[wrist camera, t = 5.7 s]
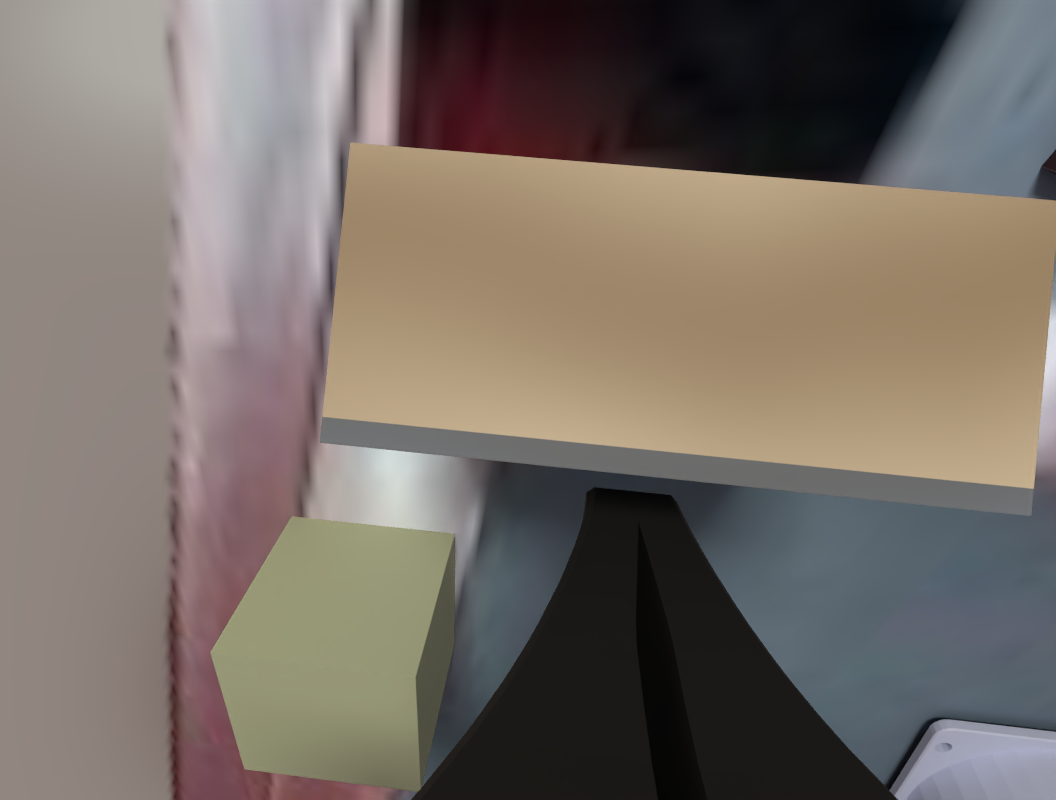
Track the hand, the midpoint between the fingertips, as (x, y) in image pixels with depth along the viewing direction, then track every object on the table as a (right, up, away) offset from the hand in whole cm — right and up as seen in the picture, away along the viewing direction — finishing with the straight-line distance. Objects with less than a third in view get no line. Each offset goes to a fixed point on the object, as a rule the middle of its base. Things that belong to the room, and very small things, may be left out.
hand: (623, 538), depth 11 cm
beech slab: (+1, +3, +5) cm, 6 cm away
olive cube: (-6, -4, +11) cm, 13 cm away
